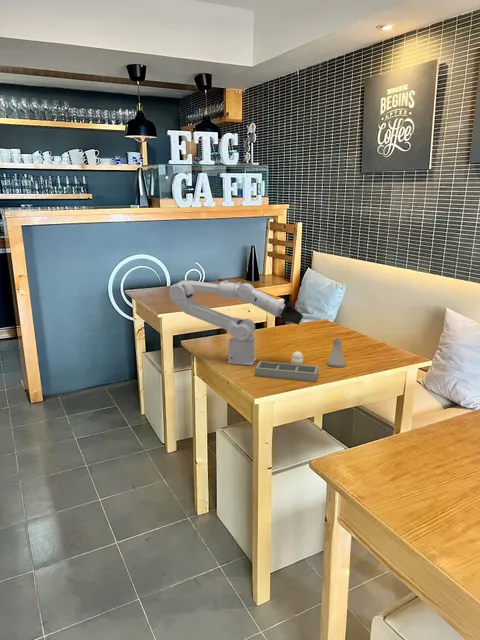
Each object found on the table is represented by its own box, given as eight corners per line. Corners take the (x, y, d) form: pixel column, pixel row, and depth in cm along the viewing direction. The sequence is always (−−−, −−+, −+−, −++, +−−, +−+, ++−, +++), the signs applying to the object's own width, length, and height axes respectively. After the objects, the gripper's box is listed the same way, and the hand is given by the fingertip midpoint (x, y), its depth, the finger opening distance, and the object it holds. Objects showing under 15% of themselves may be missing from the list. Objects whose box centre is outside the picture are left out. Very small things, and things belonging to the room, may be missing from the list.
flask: (344, 361, 188) (346, 336, 185) (347, 368, 181) (348, 342, 178) (325, 360, 188) (326, 335, 186) (327, 367, 181) (328, 341, 179)
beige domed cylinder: (290, 366, 182) (290, 353, 181) (292, 363, 186) (292, 349, 185) (302, 368, 181) (302, 354, 179) (303, 364, 185) (304, 350, 184)
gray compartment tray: (255, 376, 173) (255, 368, 172) (259, 368, 180) (259, 361, 179) (315, 382, 167) (316, 373, 167) (318, 374, 174) (318, 366, 174)
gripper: (273, 289, 173) (307, 306, 171) (271, 298, 187) (303, 314, 186) (264, 306, 172) (298, 324, 170) (263, 314, 186) (295, 330, 185)
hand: (300, 320), depth 178 cm, fingers open, 7 cm apart
